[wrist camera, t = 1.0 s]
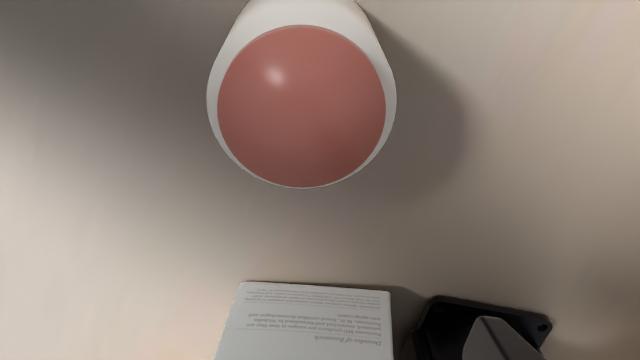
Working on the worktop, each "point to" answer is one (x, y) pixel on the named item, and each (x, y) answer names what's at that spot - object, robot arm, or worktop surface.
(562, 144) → the worktop surface
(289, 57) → the cap
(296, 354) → the supplement box
